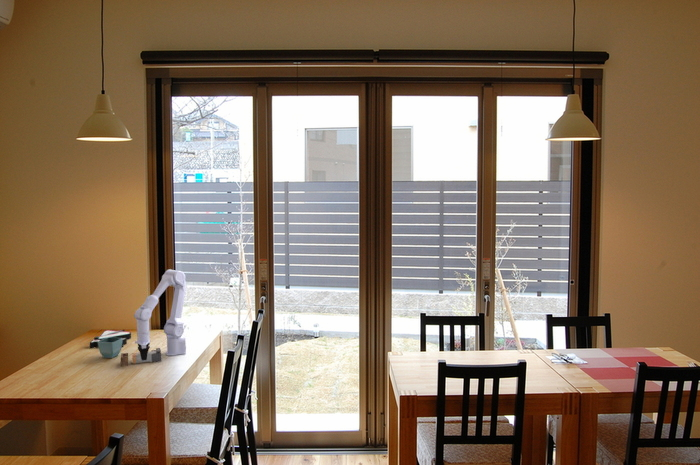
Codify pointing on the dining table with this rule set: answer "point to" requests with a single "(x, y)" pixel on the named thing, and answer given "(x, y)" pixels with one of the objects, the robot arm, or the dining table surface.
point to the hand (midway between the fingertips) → (144, 358)
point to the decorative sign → (111, 334)
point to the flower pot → (110, 347)
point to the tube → (137, 357)
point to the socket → (124, 359)
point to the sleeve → (156, 355)
